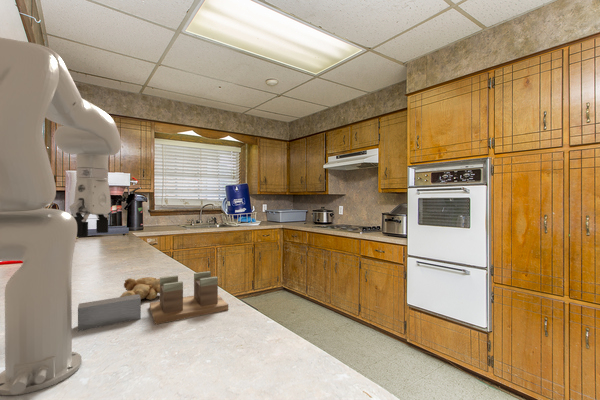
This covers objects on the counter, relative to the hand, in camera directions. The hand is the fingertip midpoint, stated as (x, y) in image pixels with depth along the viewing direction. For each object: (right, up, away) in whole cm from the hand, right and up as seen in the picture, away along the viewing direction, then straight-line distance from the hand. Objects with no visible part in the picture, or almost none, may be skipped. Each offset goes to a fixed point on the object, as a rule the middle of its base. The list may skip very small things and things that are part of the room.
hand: (92, 234), depth 86 cm
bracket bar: (+9, -23, -6) cm, 26 cm away
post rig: (+26, -23, +4) cm, 35 cm away
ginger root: (+7, -23, +14) cm, 28 cm away
